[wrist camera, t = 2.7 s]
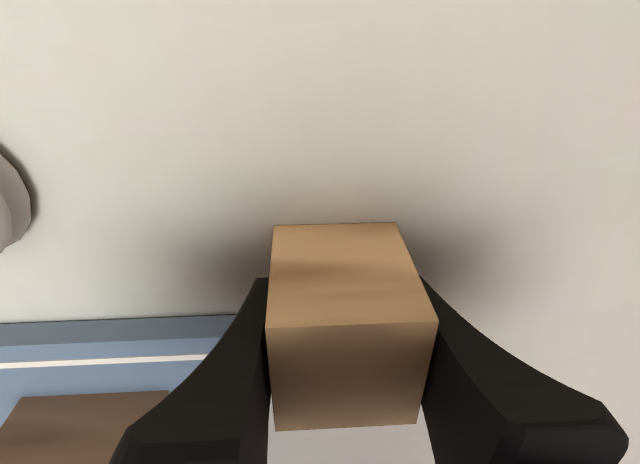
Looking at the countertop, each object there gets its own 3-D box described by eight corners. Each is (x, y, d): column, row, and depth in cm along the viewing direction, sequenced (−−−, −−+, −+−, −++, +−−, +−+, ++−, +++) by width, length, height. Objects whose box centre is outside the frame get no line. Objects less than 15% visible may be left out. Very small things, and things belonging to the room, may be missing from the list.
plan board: (259, 469, 22) (252, 560, 19) (43, 481, 22) (-7, 578, 18) (235, 314, 16) (219, 407, 12) (-70, 326, 15) (-180, 427, 12)
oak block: (384, 312, 16) (415, 423, 12) (280, 316, 16) (275, 431, 12) (394, 222, 14) (438, 321, 10) (273, 225, 14) (265, 327, 10)
